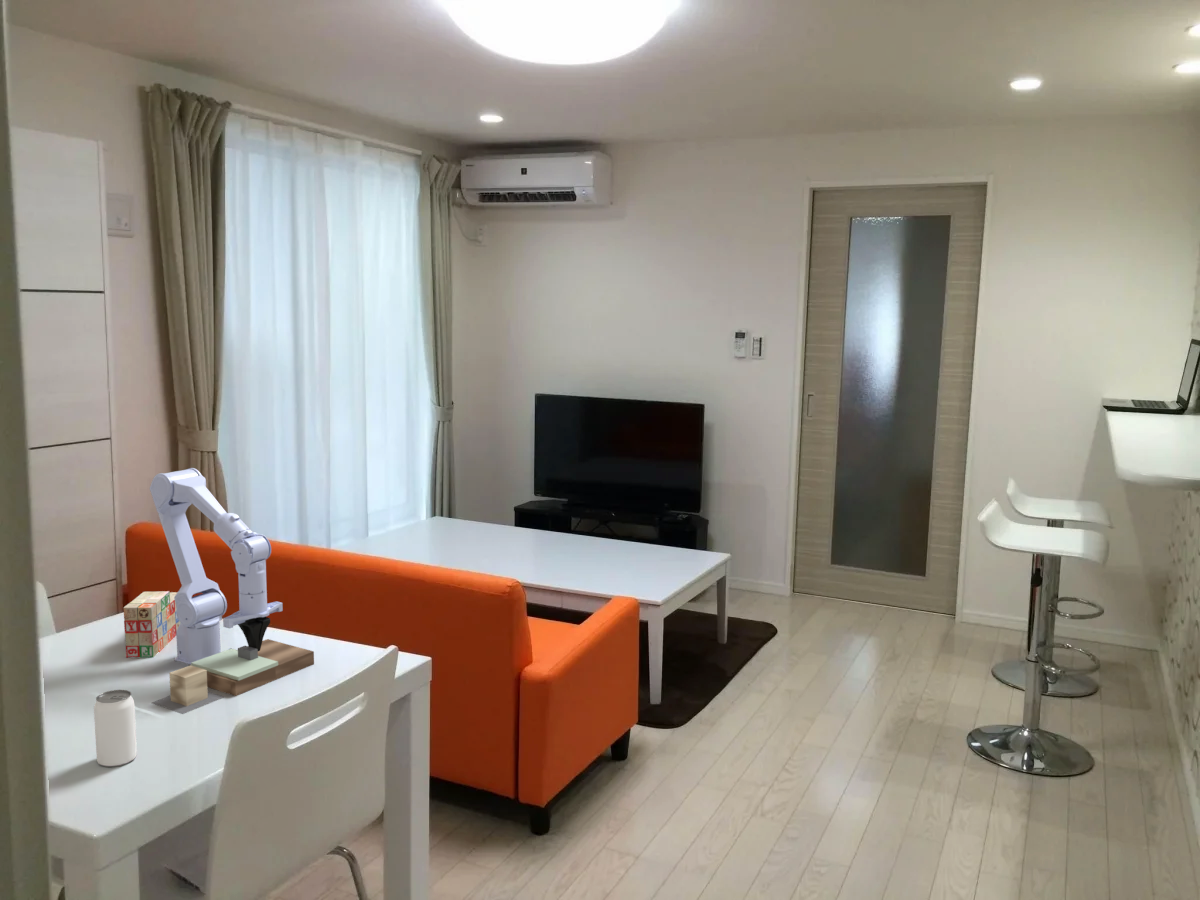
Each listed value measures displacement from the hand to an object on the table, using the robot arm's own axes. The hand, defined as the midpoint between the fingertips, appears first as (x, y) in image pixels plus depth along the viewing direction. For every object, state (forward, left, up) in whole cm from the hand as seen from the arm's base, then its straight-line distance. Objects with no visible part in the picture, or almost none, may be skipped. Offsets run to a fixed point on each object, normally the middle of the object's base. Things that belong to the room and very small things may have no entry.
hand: (254, 650), depth 214 cm
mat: (+1, -18, -5) cm, 19 cm away
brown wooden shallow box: (0, -1, -5) cm, 5 cm away
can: (+12, -41, -6) cm, 43 cm away
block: (+1, -18, -5) cm, 18 cm away
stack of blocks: (-36, +1, -6) cm, 36 cm away
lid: (0, -5, -2) cm, 6 cm away
